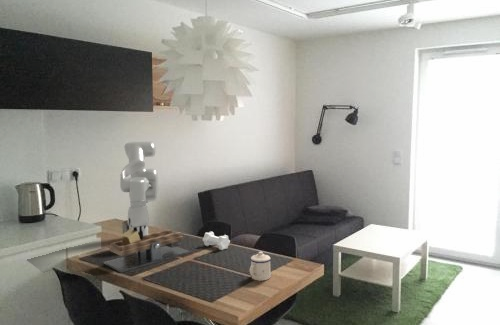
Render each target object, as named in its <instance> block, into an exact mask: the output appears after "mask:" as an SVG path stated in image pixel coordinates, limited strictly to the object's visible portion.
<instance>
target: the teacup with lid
mask: <svg viewBox="0 0 500 325" xmlns="http://www.w3.org/2000/svg"><path fill="white" fill-rule="evenodd" d="M271 260H272V258H271V257H270V255H268V254H265V253H264V252H263V251H258V253H257V254H253V255H252V256H251V257H250V267H249V274H250V275H251V276H250V278H251V279H252V280H254V281H259V282H260V281H268V280H269V279H270V278H271Z"/></svg>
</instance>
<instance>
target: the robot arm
mask: <svg viewBox="0 0 500 325" xmlns="http://www.w3.org/2000/svg"><path fill="white" fill-rule="evenodd" d="M123 147H124V151H125V154H126V156H127V159H128V163H127V164H126V165H125V166H124V167H123V168H122V170H121V172H120V175H119V176H120V177H119V178H120V179H119V180H120V181H119V182H120V183H119V184H120V187H119V188H120V190H121V191H122V192H124V193H128V198H129V203H130V206H128V210H127V220H128V226H129V229H130V230H135V231H138V234H139V237H140V240H142V239H143V236H144V235H149V234H150V233H149V226H150V224H149V223H150V214H149V209H148V205H147V204H148V203H149V202H156V201H158V200H159V196H160V194H159V176H158V171H157V170H156V169H155V168H146V161H145V158H147V157H149V158H150V157H151V158H152V157H155V155H156V153H157V152H156V151H157V150H156V145H155V143H154V141H131V142H130V141H129V142H126V143H125V144H124V146H123ZM128 176H130V177H128Z"/></svg>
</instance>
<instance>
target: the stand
mask: <svg viewBox="0 0 500 325" xmlns="http://www.w3.org/2000/svg"><path fill="white" fill-rule="evenodd" d="M150 245H151V248H150V249H147V250H143V251H139V252H135V253H132V254H128V255H124V256H120V257H117V258H113V259H110V260H105V261H103V264H104V265H106V266H107V267H109V268H112V269H113V270H115V271H117V272H118V273H120V274H121V273H125V272H127V271H128V272H129V271H131V270H132V271H133V270H136V269H139V268H143V267H145V266H150V265H153V264H156V263H159V262H160V263H161V262H164V261H167V260H171V259H174V258H177V257H181V256H185V255H188V254H189V255H190V254H191V251H190V250H188V249H185V248H182V247H180V246H177V247H173V248H171V247H168V246H165V245H163V246H161V242H160V241H157V242H153V243H150Z"/></svg>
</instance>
